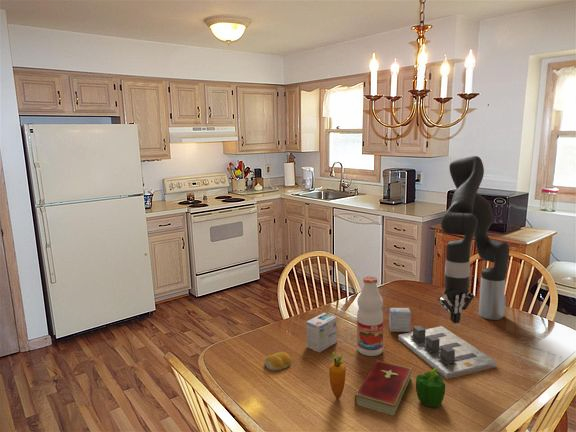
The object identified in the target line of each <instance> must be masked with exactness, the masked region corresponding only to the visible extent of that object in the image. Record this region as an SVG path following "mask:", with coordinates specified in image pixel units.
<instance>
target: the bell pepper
mask: <svg viewBox="0 0 576 432" xmlns="http://www.w3.org/2000/svg"><path fill="white" fill-rule="evenodd" d="M436 372H437V369H435V368H434V369H433V368H432V369H431V371H426V372H424V373H423V374H417V376H416V379H415V393H416V395H417V399H418V400H419V402H420V403H421V404H422V405H424V406H428V407H430V408H432V409H434V408H438V407H440V406H441V404H442V403H443V401H444V398H445V394H446V384H445V381H444V379H443V376H442V375H441V374H437V373H436Z"/></svg>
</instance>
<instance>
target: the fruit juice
mask: <svg viewBox="0 0 576 432" xmlns="http://www.w3.org/2000/svg"><path fill="white" fill-rule="evenodd" d="M362 281H363V286H362V289H361V292H360V294H359V295H358V297H357V307H358V310H357V313H356V348H357V351H358V353H360V354H362V355H364V356H367V357H375V356H379V355H381V354H382V352H383V350H384V312H383V309H382V308H383V306H384V298H383V297H382V296H381V293H380V291H379V287H378V286H377V284H378V278H377V277H376V276H372V275H371V276H369V275H368V276H364V277H363V279H362Z"/></svg>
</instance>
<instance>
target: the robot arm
mask: <svg viewBox="0 0 576 432" xmlns="http://www.w3.org/2000/svg"><path fill="white" fill-rule="evenodd" d="M484 172H485V167H484V163H483V161H482V158H481V157H479V156H477V155H474V156H473V155H472V156H468V157H462V158H458V159H455V160H452V161H450V162H449V175H450V177H451V179H452V181H453V185H454V186H455V188H456V190H455V191H454V193H453V195H452V199H451V203H450V206H449V208H448V209H447V210H446V211H445V212H444V214H443V216H442V219H441V221H440V228H441V230H442V231H443V232H444V233H445V234H447V235H453V236H454V235H455V236H457V235H458V236H464V237H463V238H462V239H458V240H452V241H448V243H447V244H446V252H445V254H446V255H445V257H446V258H445V265H444V287H445V290H444V292H443V293H444V294H443V295H442V297H438V299H437V300H438V302H439V303H440V305H441V306H442V307H443V308H444V310H446V311H448V312H449V313H450V318H449V319H450V321H451V323H453V324H460V321H461V315H462V311H463V310H464V311H466V310H467V308H468V307H469V305H470V304H471V302H472V301H473V299H474V298H475V295H474V294H473V293H471V292H469V288H470V279H471V277H470V276H471V263H470V260H471V259H470V258H471V254H470V253H471V246H472V242H473V238H474V241H475V245H476V246H475V247H476V251H477V255H478V257H479V259H481V260H483V261H486V262H491V263H493V267H485V268H483V269H482V270H481V273H480V285H479V286H480V288H479V304H478V316H480V317H482V318H484V319H487V320H492V321H493V320H494V321H496V320H497V321H498V320H502V319H503V318H504V317H505V314H506V301H507V300H506V299H507V295H506V294H505V290H506V289H505V287H506V275H507V271H508V267H509V266H508V265H509V260H510V259H509V257H510V246H509V244H508V243H507V242H505V241H501V240H495V239H491V238H490V237H489V233H488V230H489V229H490V228H491V226H492V224H493V223H494V213H493V209H492V207H491V204H490V202H489V201H488V200H487V199H486V198H485V196H484V197H483V196H482V195H481V194H479V193H478V190H479V188H480V186H481V183H482V182H483V179H484V178H483V177H484V175H485V173H484Z"/></svg>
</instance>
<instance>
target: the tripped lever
mask: <svg viewBox="0 0 576 432" xmlns="http://www.w3.org/2000/svg"><path fill="white" fill-rule="evenodd" d="M438 359H440V360H441V361H442V362H444V363H445V364H448V363H453V362H457V360H456V359H455V350H454V349H453V348H451V347H450V346H448V345H447V346H442V347H441V349H440V356H438Z"/></svg>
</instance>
